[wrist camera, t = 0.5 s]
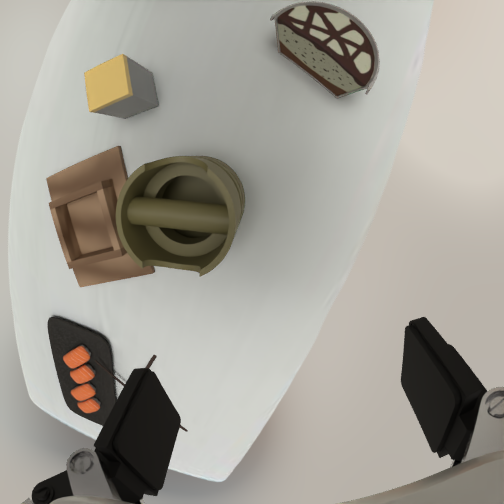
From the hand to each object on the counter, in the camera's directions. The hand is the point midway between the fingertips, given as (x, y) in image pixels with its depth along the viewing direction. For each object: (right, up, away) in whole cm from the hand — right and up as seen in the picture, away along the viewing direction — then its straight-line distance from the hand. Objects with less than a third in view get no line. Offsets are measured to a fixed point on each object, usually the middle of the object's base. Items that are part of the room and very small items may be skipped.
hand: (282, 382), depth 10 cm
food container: (+8, +29, +20) cm, 36 cm away
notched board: (-23, +9, +28) cm, 38 cm away
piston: (-8, +11, +27) cm, 30 cm away
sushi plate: (-27, -23, +40) cm, 53 cm away
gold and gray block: (-16, +25, +22) cm, 37 cm away
